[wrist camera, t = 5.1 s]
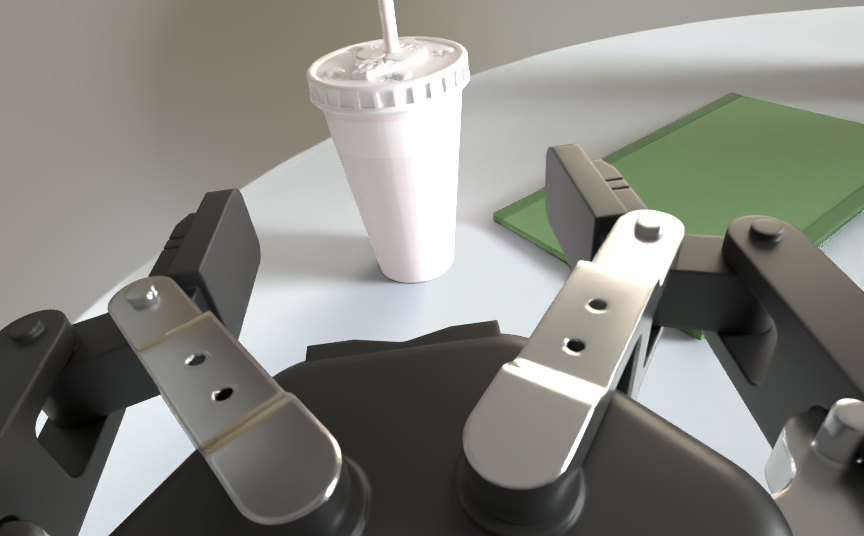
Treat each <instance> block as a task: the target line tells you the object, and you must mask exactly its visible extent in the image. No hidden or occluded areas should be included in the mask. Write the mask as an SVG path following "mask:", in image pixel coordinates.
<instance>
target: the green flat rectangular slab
mask: <svg viewBox="0 0 864 536" xmlns="http://www.w3.org/2000/svg"><path fill="white" fill-rule="evenodd" d="M600 160H602V161H604V162H606V163H608V164H610V165H612V166H614V167H615V168H616V169H617V170H618V172H619V173H620V174H621V175H622V177H623V180H626V182H627V183H628V184H629V185H630V188H632V189H633V190H634V192H635V193H636V194H637V195H638V197H639V198H640V199H641V201H642V202H643V203H644V204H645V206H646V207H647V208H648V209H649V210H651V211H658V212H662V213H666V214H669V215H671V216H673V217H675V218H676V219H678V220H679V221H680V222H681V223H682V224H683V226H684V229H685V233H688V234H696V235H713V236H725V234H726V230H727V227H728V224H729V223H730V222H731V221H733V220H734V219H736V218H739V217H743V216H751V215H760V216H768V217H773V218H777V219H780V220H783V221H786V222H788V223H790V224H792V225H794V226H795V227H797V228H798V229H799V230H800V231H801V232H802V233H803V234H804V235H805V236H806V237H807V238H808V239H809V240H811V241H812V242H813V243H814V244H815V245H816V246H819V245H820V244H821V243H822V242H824V241H825V240H826V239H827V238H829V237H830V236H831V235H832V234H834V233H835V232H836V231H837V230H838V229H840V228H841V227H842V226H843V225H845V224H846V223H847V222H848V221H850V220H851V219H852V218H853V217H855V216H856V215H857V214H858V213H860V212H861V211H862V210H863V209H864V124H860V123H856V122H852V121H847V120H843V119H839V118H835V117H830V116H826V115H822V114H817V113H813V112H809V111H805V110H800V109H796V108H792V107H788V106H783V105H779V104H775V103H770V102H766V101H762V100H758V99H753V98H749V97H745V96H742V95H739V94H734V93H730V94H728V95H726V96H724V97H722V98H720V99H718V100H717V101H715V102H713V103H711V104H709V105H707V106H705V107H703V108H701V109H699V110H697V111H695V112H693V113H691V114H689V115H687V116H685V117H683V118H681V119H679V120H677V121H675V122H673V123H671V124H669V125H667V126H665V127H663V128H661V129H659V130H657V131H655V132H653V133H651V134H649V135H647V136H645V137H643V138H641V139H639V140H637V141H635V142H633V143H631V144H629V145H627V146H626V147H624V148H622V149H620V150H618V151H616V152H614V153H612V154H610V155H608V156H606V157H604V158H602V159H600ZM493 220H494V221H496V222H498V223H499V224H501V225H503V226H504V227H506V228H508V229H510V230H511V231H513V232H515V233H516V234H518V235H520V236H522V237H523V238H525V239H527V240H528V241H530V242H532V243H534V244H535V245H537V246H539V247H541V248H542V249H544V250H546V251H547V252H549V253H551V254H553V255H554V256H556V257H558V258H559V259H561V260H563V261H565V262H566V263H568V261H567V259H566V257H565V255H564V253H563V251H562V249H561V247H560V245H559V243H558V241H557V239H556V237H555V235H554V233H553V231H552V229H551V227H550V225H549V222H548V219H547V215H546V208H545V187H544V188H542V189H540V190H538V191H536V192H534V193H533V194H531V195H529V196H527V197H525V198H523V199H521V200H519V201H517V202H515V203H513V204H511V205H509V206H507V207H505V208H503V209H501V210H499V211H497V212H495V213H493ZM680 329H681V330H683V331H685V332H687V333H688V334H690V335H692V336H693V337H695V338H697V339H699V340H702V339H703V338H704V335H703V333H702V331H701V330H693V329H683V328H680Z"/></svg>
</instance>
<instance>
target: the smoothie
mask: <svg viewBox="0 0 864 536" xmlns="http://www.w3.org/2000/svg"><path fill="white" fill-rule="evenodd" d="M378 6H379V13H380V19H381V26H382V33H383V39H380V40H374V41H368V42H364V43H359V44H355V45H352V46H348V47H345V48H342V49H339V50H336V51H334V52H331V53H329V54H327V55H325V56H323V57H321V58H319V59H318V60H316V61H315V62H314V63H313V64H312V65H311V66H310V67H309V68H308V70H307V72H306V78H307V81H308V85H309V89H310V92H309V95H310V101H311V102H312V103H313V104H314V105H315V106H316V107H317V108H320V109H322V110H323V113H324V116H325V118H326V121H327V124H328V127H329V130H330V133H331V136H332V139H333V142H334V144H335V146H336V149H337V152H338V154H339V157H340V160H341V163H342V165H343V168H344V171H345V173H346V176H347V179H348V182H349V184H350V187H351V190H352V193H353V195H354V198H355V201H356V204H357V206H358V209H359V212H360V214H361V217H362V220H363V223H364V225H365V228H366V231H367V234H368V236H369V239H370V242H371V245H372V247H373V250H374V253H375V256H376V258H377V261H378V264H379V266H380V269H381V271H382V272H383V274H384V275H385V276H387V277H388V278H390V279H392V280H395V281H398V282H404V283H417V282H423V281H427V280H431V279H433V278H436V277H438V276H440V275H441V274H443V273H444V272H445V271H446V270H447V269H448V268H449V267H450V266H451V264H452V262H453V256H454V237H455V217H456V198H457V178H458V159H459V139H460V125H461V98H462V89H464V88H465V86H466V85H467V83H468V82H469V80H470V71H469V70H468V54H467V51H466V50H465V48H464V47H463V46H461V45H460V44H458V43H456V42H454V41H451V40H447V39H441V38H434V37H398V36H397V29H396V22H395V14H394V6H393V0H378Z"/></svg>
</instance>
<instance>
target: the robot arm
mask: <svg viewBox="0 0 864 536" xmlns="http://www.w3.org/2000/svg"><path fill="white" fill-rule="evenodd" d="M545 208H546V215H547V219H548V222H549V225H550V227H551V229H552V231H553V233H554V235H555V237H556V239H557V241H558V243H559V245H560V247H561V249H562V251H563V253H564V255H565V257H566V259H567V261H568V264H569V266H570V268H571V270H572V273H571V274H570V276H569V277H568V279H567V280H566V282H565V284H564V285H563V287H562V288H561V290H560V291H559V293H558V294H557V296H556V297H555V299H554V301H553V302H552V304H551V305H550V307H549V308H548V310H547V311H546V313H545V315H544V316H543V318H542V319H541V321H540V322H539V324H538V325H537V327H536V328H535V330H534V332H533V333H532V335H531V336H530V338H526V337H522V336H517V335H510V334H501V333H500V329H499V325H498V322H497V320H494V321H487V322H480V323H472V324H465V325H458V326H451V327H448V328H445V329H442V330H439V331H436V332H433V333H430V334H427V335H424V336H421V337H418V338H415V339H412V340H409V341H405V342H387V341H369V340H348V341H341V342H334V343H326V344H319V345H312V346H307V354H306V361H303V362H300V363H298V364H295V365H293V366H291V367H289V368H287V369H285V370H283V371H281V372H279V373H278V374H276V375H275V376H273V377H271V376H270V375H269V374H268V373H267V371H266V370H265V369H264V368H263V367H262V366H261V365H260V364H259V363H258V362H257V361H256V360H255V358H254V357H253V356H252V355H251V354H250V353H249V352H248V351H247V350H246V349H245V348H244V347H243V345H242V344H241V343H240V342H239V341H238V338H239V335H240V331H241V328H242V324H243V321H244V317H245V313H246V310H247V306H248V303H249V299H250V296H251V292H252V289H253V285H254V282H255V278H256V274H257V271H258V267H259V264H260V258H261V254H260V245H259V241H258V238H257V235H256V232H255V229H254V227H253V224H252V221H251V218H250V216H249V213H248V210H247V207H246V205H245V202H244V199H243V197H242V194H241V193H240V191H239V190H238V189H230V190H222V191H215V192H208V193H206V195H205V197H204V198H203V200H202V202H201V204H200V206H199V208H198V210H197V212H196V213H191V214H189V215H188V216H187V217H186V218H184V219H183V220H182V221H181V222H180V223H178V224H177V225H176V227H175V229H174V230H173V232H172V234H171V236H170V238H169V239H170V240H168V241H167V243H166V245H165V247H164V250H163V251H162V252H161V254H160V256H159V258H158V260H157V262H156V263H155V265H154V267H153V269H152V271H151V273H150V274H149V276H148V277H147V278H143V279H140V280H137V281H135V282H133V283H131V284H129V285H127V286H125V287H124V288H122V289H121V290H120V291H118V292H117V293H116V294H115V295H114V296H113V297H112V299H111V300H110V302H109V304H108V313H106V314H103V315H100V316H97V317H94V318H91V319H88V320H85V321H82V322H79V323H76V324H73V325H72V324H71V323H70V322H69V320H68V319H67V317H66V316H65V314H64V313H62V312H61V311H58V310H43V311H38V312H34V313H32V314H28V315H26V316H24V317H21V318H19V319H18V320H16V321H14V322H12V323H10V324H9V325H8V326H6V327H5V328H3V329H2V330H1V331H0V536H78V534H79V532H80V529H81V526H82V524H83V521H84V519H85V516H86V513H87V511H88V508H89V505H90V503H91V500H92V498H93V495H94V492H95V490H96V487H97V484H98V482H99V479H100V476H101V474H102V471H103V469H104V466H105V463H106V461H107V458H108V455H109V453H110V450H111V447H112V445H113V442H114V440H115V437H116V434H117V432H118V429H119V426H120V424H121V421H122V418H123V416H124V413H125V410H126V408H127V407H129V406H132V405H134V404H137V403H140V402H142V401H145V400H148V399H150V398H153V397H155V396H158V395H161V396H162V398H163V399H164V401H165V402H166V404H167V405H168V407H169V409H170V410H171V412H172V413H173V415H174V416H175V418H176V419H177V421H178V422H179V424H180V426H181V427H182V429H183V430H184V432H185V433H186V435H187V436H188V438H189V439H190V441H191V442H192V444H193V446H194V447H195V449H196V450H195V451H194V452H193V453H192V454H191V455H190V456H189V457H188V458H187V459H186V460H185V461H184V462H183V463H182V464H181V465H180V466H179V467H178V468H177V469H176V470H175V471H174V472H173V473H172V474H171V475H170V476H169V477H168V478H167V479H166V480H165V481H164V482H163V483H162V484H161V485H160V486H159V487H158V488H157V489H156V490H155V491H154V492H153V493H151V494H150V495H149V496H148V497H147V498H146V499H145V500H144V501H143V502H142V503H141V504H140V505H139V506H138V507H137V508H136V509H135V510H134V511H133V512H132V513H131V514H130V515H129V516H128V517H127V518H126V519H125V520H124V521H123V522H122V523H121V524H120V525H119V526H118V527H117V528H116V529H115V530H114V531H113V532H112V533H111V534H110V535H109V536H864V292H863V291H862V290H861V289H860V288H859V287H858V286H857V285H856V284H855V283H854V282H853V281H852V280H851V279H850V278H849V277H848V276H847V275H846V274H845V273H844V272H843V271H842V270H841V269H840V268H838V267H837V266H836V265H835V264H834V263H833V262H832V261H831V260H830V259H829V258H828V257H827V256H826V255H825V254H824V253H823V252H822V251H821V250H820V249H819V248H818V247H817V246H816V245H815V244H814V243H813V242H812V241H811V240H809V239H808V238H807V237H806V236H805V235H804V234H803V233H802V232H801V231H800V230H799V229H798V228H797V227H795V226H794V225H792V224H790V223H788V222H786V221H783V220H780V219H777V218H773V217H768V216H760V215H751V216H743V217H739V218H736V219H734V220H733V221H731V222H730V223H729V224H728V227H727V230H726V234H725V236H713V235H696V234H688V233H685V229H684V226H683V224H682V223H681V222H680V221H679V220H678V219H676V218H675V217H673V216H671V215H669V214H666V213H662V212H658V211H651V210H649V209H648V208H647V207H646V206H645V204H644V203H643V202H642V201H641V199H640V198H639V197H638V195H637V194H636V193H635V192H634V190H633V189H632V188H630V185H629V184H628V183H627V182H626V180H623V177H622V175H621V174H620V173H619V172H618V170H617V169H616V168H615V167H614V166H612V165H610V164H608V163H606V162H604V161H602V160H600V159H597V160H590V159H589V157H588V156H587V155H586V153H585V152H584V151H583V149H582V148H581V146H580V145H579V144H578V143H576V144H569V145H561V146H554V147H549V148H548V150H547V155H546V185H545ZM664 327H673V328H683V329H693V330H701V331H702V333H703V335H704V337H705V338H706V340H707V342H708V343H709V345H710V347H711V348H712V350H713V352H714V353H715V355H716V357H717V358H718V360H719V361H720V363H721V365H722V366H723V368H724V370H725V371H726V373H727V375H728V376H729V378H730V380H731V381H732V383H733V385H734V386H735V388H736V390H737V391H738V393H739V394H740V396H741V398H742V399H743V401H744V403H745V404H746V406H747V408H748V409H749V411H750V413H751V414H752V416H753V418H754V419H755V421H756V422H757V424H758V426H759V427H760V429H761V431H762V432H763V434H764V436H765V437H766V439H767V441H768V442H769V444H770V446H771V447H772V449H773V450H772V452H771V454H770V456H769V459H768V461H767V463H766V466H765V477H766V481H767V484H768V486H769V489H770V492H771V494H770V495H769V493H768V492H767V491H766V490H765V489H764V488H763V487H762V486H761V485H760V484H759V483H758V482H757V481H756V480H755V479H754V478H753V477H752V476H751V475H749V474H748V473H747V472H746V471H745V470H743V469H742V468H740V467H739V466H738V465H736V464H735V463H733V462H732V461H730V460H729V459H727V458H726V457H724V456H722V455H721V454H719V453H718V452H716V451H715V450H713V449H711V448H710V447H708V446H707V445H705V444H703V443H702V442H700V441H699V440H697V439H695V438H694V437H692V436H691V435H689V434H688V433H686V432H684V431H683V430H681V429H680V428H678V427H676V426H675V425H673V424H672V423H670V422H669V421H667V420H665V419H664V418H662V417H661V416H659V415H657V414H656V413H654V412H653V411H651V410H650V409H648V408H646V407H645V406H643V405H642V404H640V403H638V402H637V401H636V400H637V397H638V393H639V390H640V387H641V384H642V381H643V379H644V376H645V374H646V371H647V369H648V366H649V364H650V361H651V359H652V356H653V354H654V351H655V349H656V346H657V344H658V342H659V339H660V337H661V334H662V332H663V328H664ZM41 410H43V411H44V412H45V414H46V415H47V416H48V419H47V421H46V423H45V425H44V427H43V429H42V431H41V432H40V434H39V436H38V438H37V437H36V431H35V426H36V421H37V418H38V415H39V414H40V412H41Z"/></svg>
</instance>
